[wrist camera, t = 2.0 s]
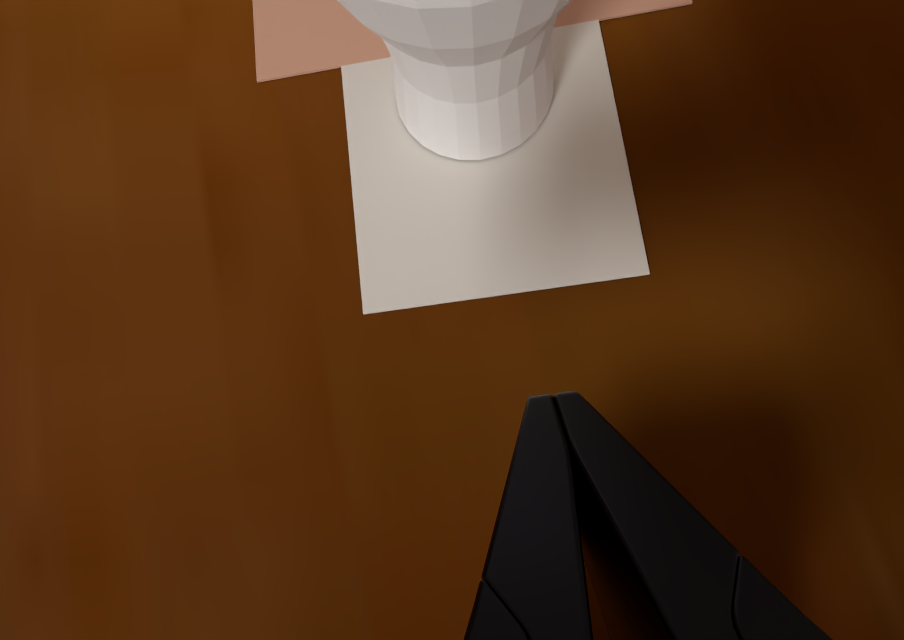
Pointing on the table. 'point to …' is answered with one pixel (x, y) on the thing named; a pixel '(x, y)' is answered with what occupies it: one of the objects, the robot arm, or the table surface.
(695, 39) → the table surface
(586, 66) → the t mat
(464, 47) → the white vase
